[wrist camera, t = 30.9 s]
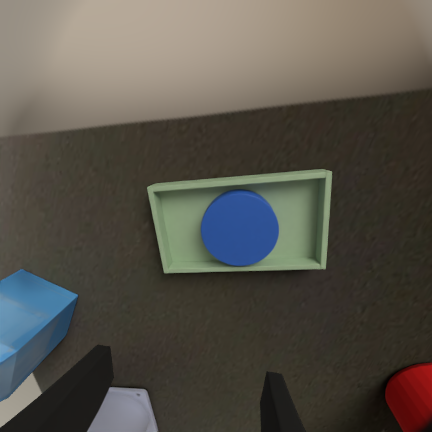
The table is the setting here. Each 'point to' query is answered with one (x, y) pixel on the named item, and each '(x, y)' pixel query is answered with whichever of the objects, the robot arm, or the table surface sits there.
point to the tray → (271, 191)
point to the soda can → (412, 397)
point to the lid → (239, 227)
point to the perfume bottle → (29, 325)
